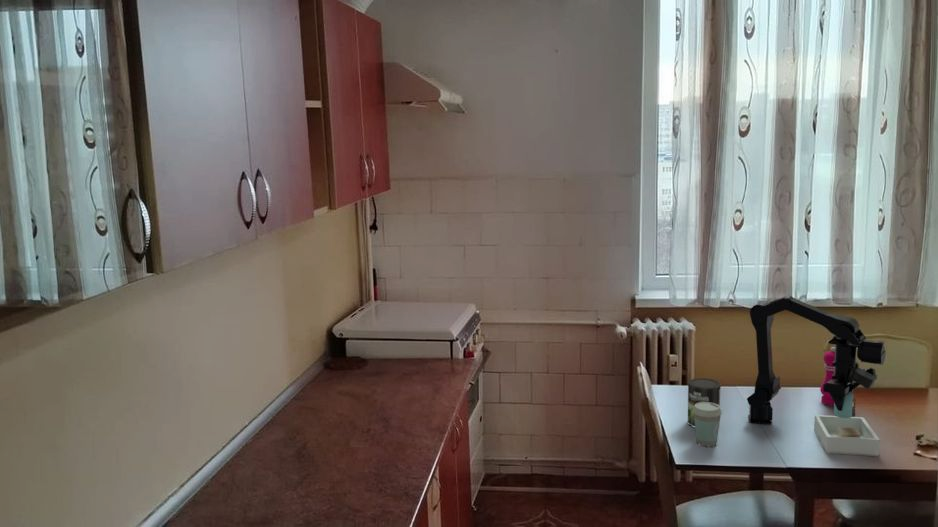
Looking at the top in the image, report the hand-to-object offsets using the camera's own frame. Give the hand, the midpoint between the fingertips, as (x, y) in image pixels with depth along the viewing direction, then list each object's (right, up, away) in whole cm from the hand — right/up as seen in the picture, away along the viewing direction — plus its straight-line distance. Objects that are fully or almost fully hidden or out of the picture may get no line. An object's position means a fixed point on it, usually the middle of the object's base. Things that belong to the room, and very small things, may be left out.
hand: (842, 408), depth 226 cm
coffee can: (-38, -9, +16) cm, 42 cm away
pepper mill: (+12, -4, +31) cm, 34 cm away
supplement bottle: (+7, -7, +13) cm, 17 cm away
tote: (-1, -10, -2) cm, 10 cm away
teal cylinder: (0, -2, 0) cm, 2 cm away
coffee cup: (-41, -11, +1) cm, 43 cm away
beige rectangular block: (-2, -10, -7) cm, 12 cm away
